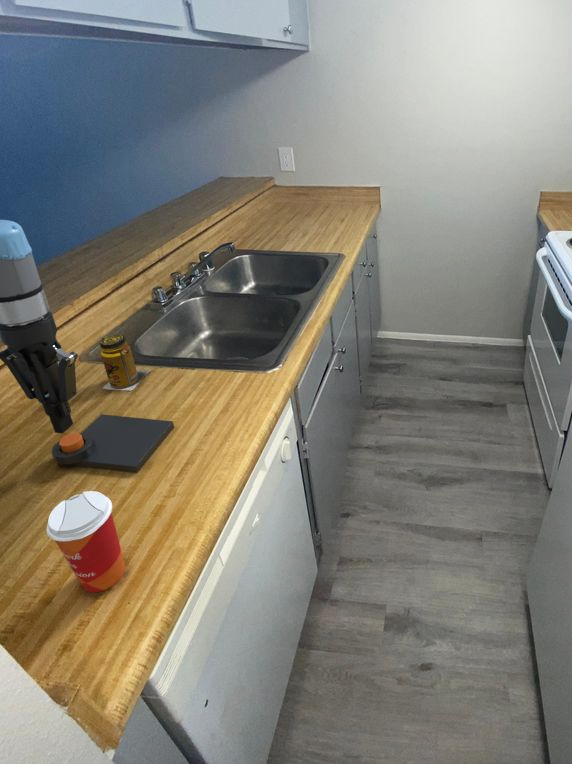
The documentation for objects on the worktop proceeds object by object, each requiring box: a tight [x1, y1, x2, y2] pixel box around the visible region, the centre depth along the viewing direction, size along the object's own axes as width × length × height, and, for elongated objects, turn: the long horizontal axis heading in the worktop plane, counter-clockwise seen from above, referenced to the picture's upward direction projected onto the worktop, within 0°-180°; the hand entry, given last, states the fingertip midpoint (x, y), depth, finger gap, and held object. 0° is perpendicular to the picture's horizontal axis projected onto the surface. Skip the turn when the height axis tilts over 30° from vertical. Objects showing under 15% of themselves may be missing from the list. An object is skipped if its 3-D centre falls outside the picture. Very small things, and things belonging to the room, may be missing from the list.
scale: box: [51, 413, 175, 474], centre depth 94 cm, size 17×14×4 cm
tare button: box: [58, 432, 84, 453], centre depth 90 cm, size 4×4×2 cm
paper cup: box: [46, 490, 126, 594], centre depth 68 cm, size 8×8×14 cm
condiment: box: [99, 334, 152, 391], centre depth 112 cm, size 7×8×12 cm
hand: (64, 428), depth 88 cm, fingers closed
